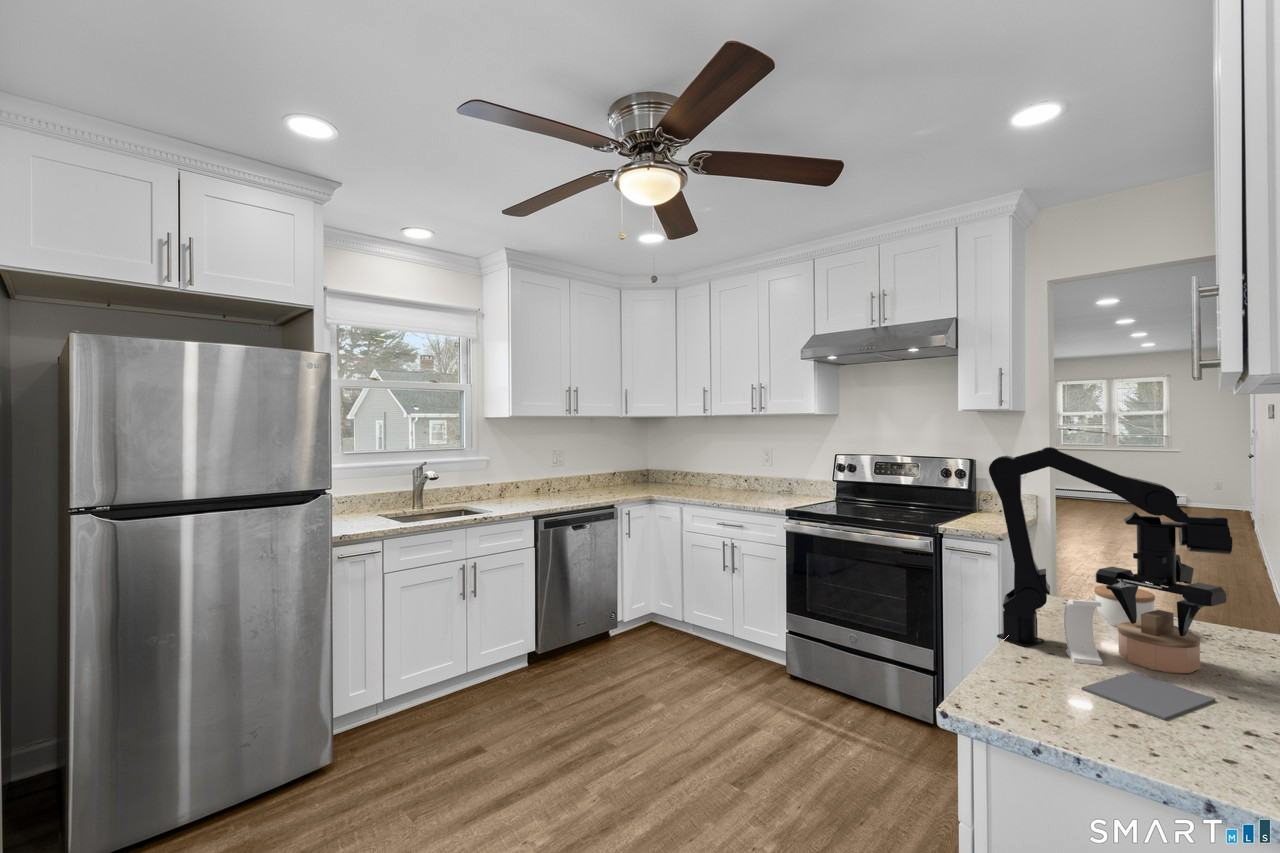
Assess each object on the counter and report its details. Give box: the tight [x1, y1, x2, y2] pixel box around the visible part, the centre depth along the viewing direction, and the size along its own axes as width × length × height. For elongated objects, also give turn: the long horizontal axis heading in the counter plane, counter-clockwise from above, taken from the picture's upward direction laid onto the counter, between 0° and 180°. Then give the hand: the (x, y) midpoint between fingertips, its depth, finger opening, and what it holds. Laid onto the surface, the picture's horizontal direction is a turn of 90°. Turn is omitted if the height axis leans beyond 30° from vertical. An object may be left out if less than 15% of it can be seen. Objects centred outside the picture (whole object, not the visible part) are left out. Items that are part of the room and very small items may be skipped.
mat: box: [1081, 671, 1216, 721], centre depth 102 cm, size 15×12×1 cm
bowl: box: [1117, 631, 1201, 674], centre depth 115 cm, size 11×11×5 cm
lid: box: [1117, 609, 1201, 648], centre depth 115 cm, size 12×12×4 cm
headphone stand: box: [1063, 598, 1103, 666], centre depth 118 cm, size 5×6×12 cm
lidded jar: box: [1094, 584, 1156, 628], centre depth 136 cm, size 11×11×9 cm
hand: (1157, 629), depth 115 cm, fingers open, 8 cm apart
